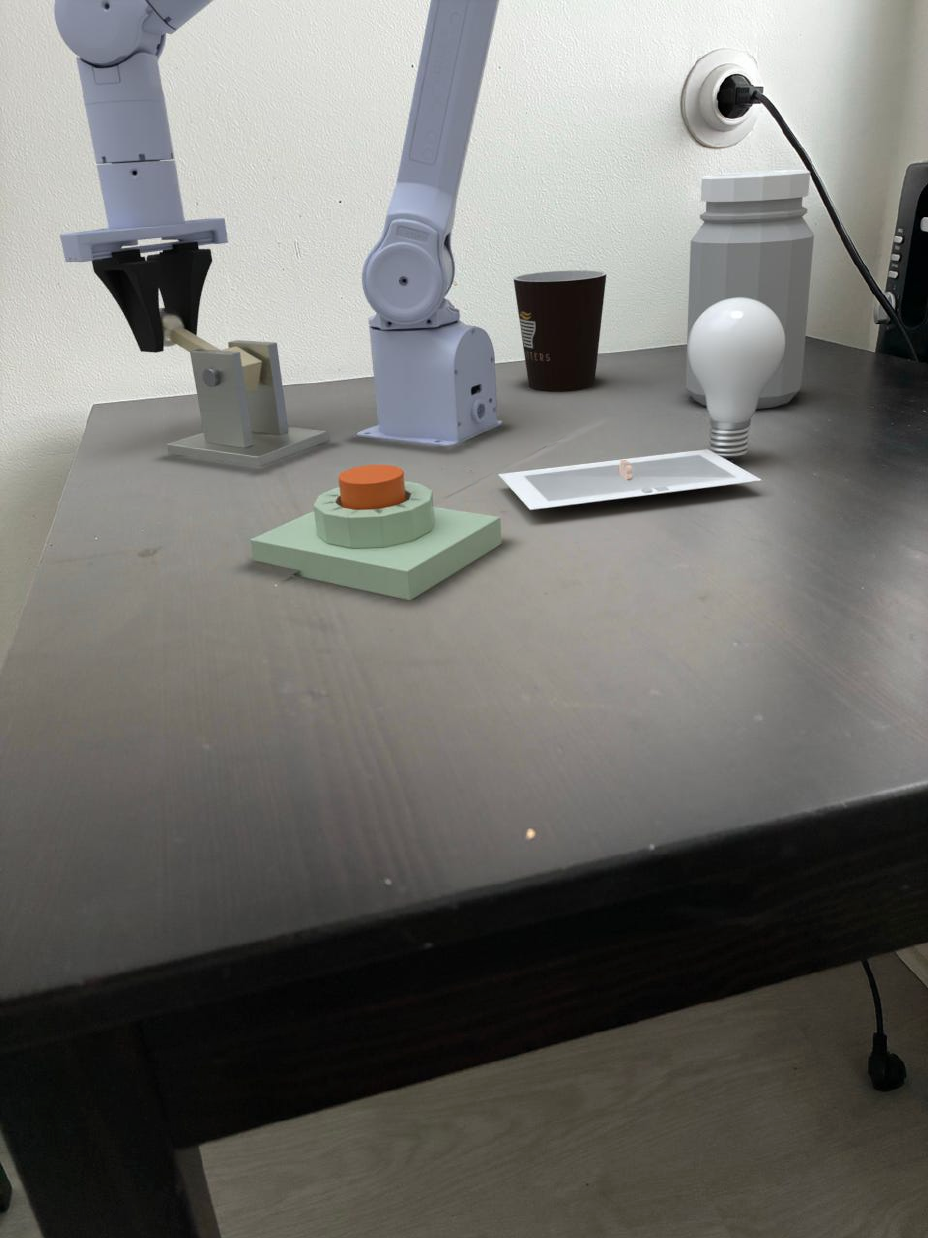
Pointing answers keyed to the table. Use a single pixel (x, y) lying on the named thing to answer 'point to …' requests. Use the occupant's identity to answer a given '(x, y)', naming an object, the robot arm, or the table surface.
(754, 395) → the lightbulb
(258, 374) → the lever
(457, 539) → the button box
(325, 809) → the table surface
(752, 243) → the jar
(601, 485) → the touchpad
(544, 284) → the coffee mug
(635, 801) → the table surface
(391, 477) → the button
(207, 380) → the bracket
